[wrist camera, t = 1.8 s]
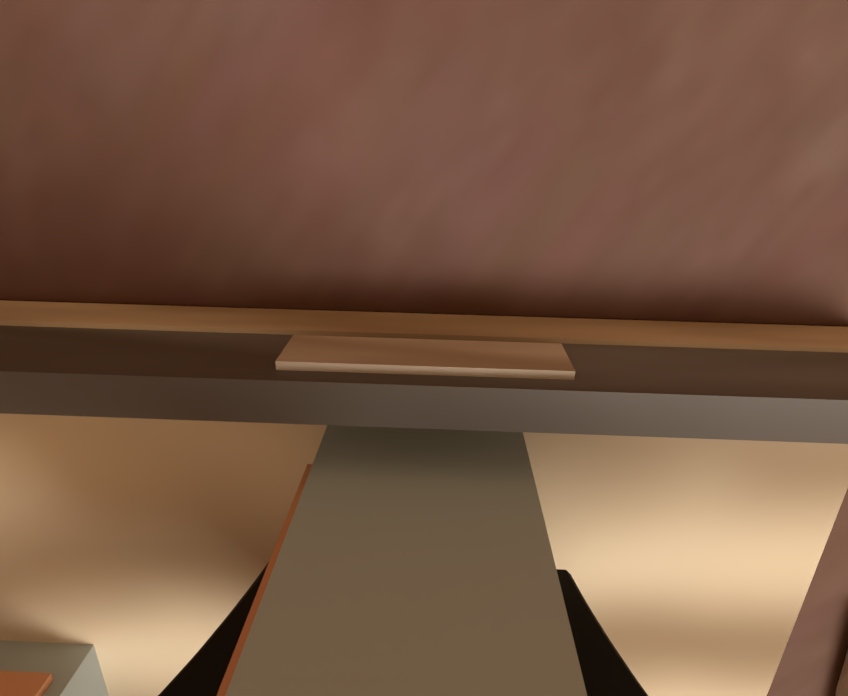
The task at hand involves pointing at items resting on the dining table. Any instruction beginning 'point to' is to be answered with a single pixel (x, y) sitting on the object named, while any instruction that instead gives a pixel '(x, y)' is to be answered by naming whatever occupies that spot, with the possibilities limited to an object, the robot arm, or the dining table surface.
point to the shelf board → (425, 409)
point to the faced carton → (50, 669)
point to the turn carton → (410, 575)
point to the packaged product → (843, 679)
